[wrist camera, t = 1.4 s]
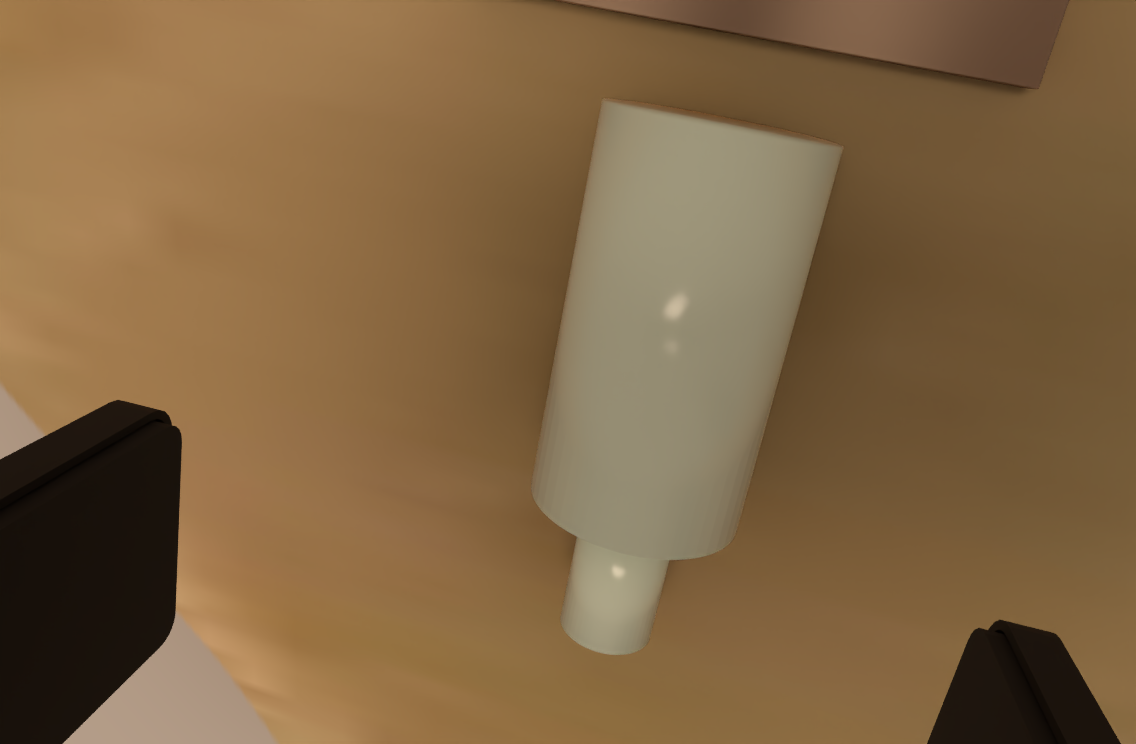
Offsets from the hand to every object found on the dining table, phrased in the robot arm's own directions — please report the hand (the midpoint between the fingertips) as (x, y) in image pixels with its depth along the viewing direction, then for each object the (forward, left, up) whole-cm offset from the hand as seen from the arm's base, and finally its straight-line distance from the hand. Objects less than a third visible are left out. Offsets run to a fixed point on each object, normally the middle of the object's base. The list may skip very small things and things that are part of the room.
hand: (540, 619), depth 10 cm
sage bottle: (0, +1, -16) cm, 16 cm away
